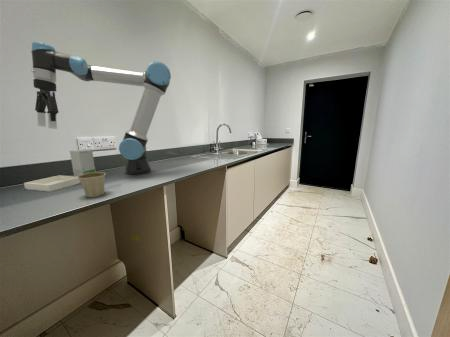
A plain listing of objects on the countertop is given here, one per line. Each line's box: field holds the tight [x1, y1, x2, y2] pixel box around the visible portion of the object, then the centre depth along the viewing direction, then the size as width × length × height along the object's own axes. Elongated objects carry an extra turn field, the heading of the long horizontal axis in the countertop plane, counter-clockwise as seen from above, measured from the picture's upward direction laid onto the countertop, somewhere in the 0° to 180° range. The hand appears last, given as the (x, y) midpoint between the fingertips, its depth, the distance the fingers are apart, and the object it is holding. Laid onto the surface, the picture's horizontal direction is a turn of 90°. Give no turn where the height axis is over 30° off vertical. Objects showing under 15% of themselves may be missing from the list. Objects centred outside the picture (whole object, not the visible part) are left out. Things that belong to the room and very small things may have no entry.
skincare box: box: [69, 149, 97, 177], centre depth 101 cm, size 8×7×16 cm
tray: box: [23, 174, 82, 193], centre depth 87 cm, size 15×15×3 cm
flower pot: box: [77, 171, 107, 198], centre depth 74 cm, size 9×9×9 cm
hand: (47, 127), depth 87 cm, fingers open, 13 cm apart
